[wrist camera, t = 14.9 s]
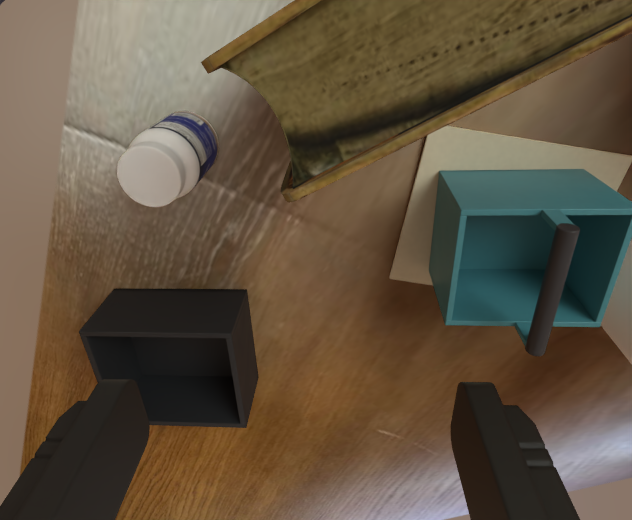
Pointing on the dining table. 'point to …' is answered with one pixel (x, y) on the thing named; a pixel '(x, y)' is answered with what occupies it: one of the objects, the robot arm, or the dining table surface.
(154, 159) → the pill bottle
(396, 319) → the dining table surface
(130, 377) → the charcoal bin
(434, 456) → the dining table surface
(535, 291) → the teal bin
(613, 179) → the cream mat
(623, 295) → the canister
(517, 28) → the book
